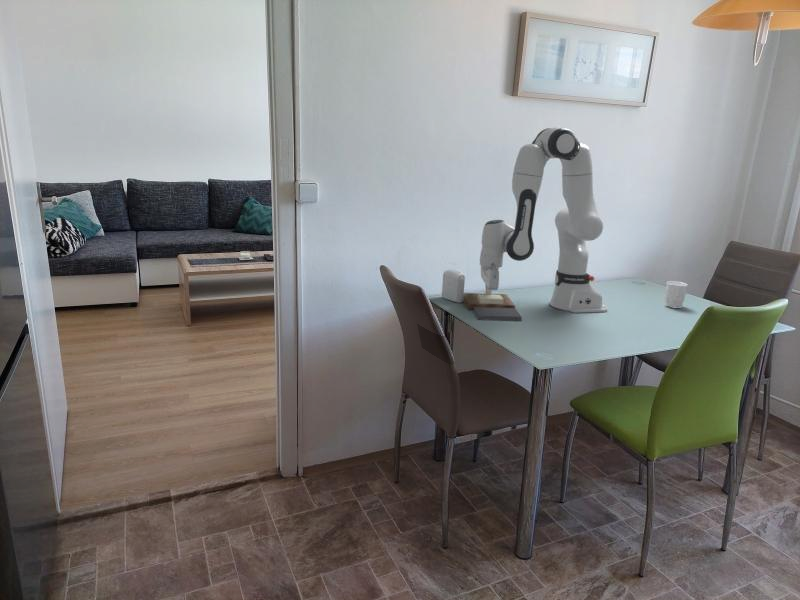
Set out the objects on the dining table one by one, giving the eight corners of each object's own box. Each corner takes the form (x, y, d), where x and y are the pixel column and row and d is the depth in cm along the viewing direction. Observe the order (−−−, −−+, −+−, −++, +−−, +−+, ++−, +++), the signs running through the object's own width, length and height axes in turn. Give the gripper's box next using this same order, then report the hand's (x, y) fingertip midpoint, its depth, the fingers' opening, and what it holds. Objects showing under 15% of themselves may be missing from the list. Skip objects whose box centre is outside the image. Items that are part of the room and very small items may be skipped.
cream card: (500, 299, 231) (500, 295, 230) (502, 304, 225) (503, 299, 225) (477, 299, 231) (477, 294, 230) (479, 303, 225) (480, 298, 224)
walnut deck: (505, 300, 240) (506, 294, 240) (514, 311, 225) (515, 305, 224) (462, 298, 239) (463, 292, 239) (468, 310, 224) (468, 304, 223)
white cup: (673, 303, 246) (677, 280, 244) (687, 308, 239) (692, 285, 236) (658, 304, 244) (662, 281, 241) (672, 309, 237) (676, 286, 234)
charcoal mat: (514, 311, 225) (515, 308, 224) (521, 320, 214) (521, 316, 214) (473, 310, 224) (474, 306, 223) (478, 319, 213) (478, 315, 213)
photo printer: (440, 297, 240) (441, 268, 237) (447, 296, 243) (449, 267, 239) (456, 303, 232) (459, 273, 229) (464, 302, 235) (467, 272, 231)
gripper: (504, 267, 218) (500, 302, 222) (494, 256, 238) (491, 288, 241) (487, 266, 218) (484, 302, 222) (479, 255, 237) (476, 288, 241)
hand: (488, 295), depth 232 cm, fingers closed
